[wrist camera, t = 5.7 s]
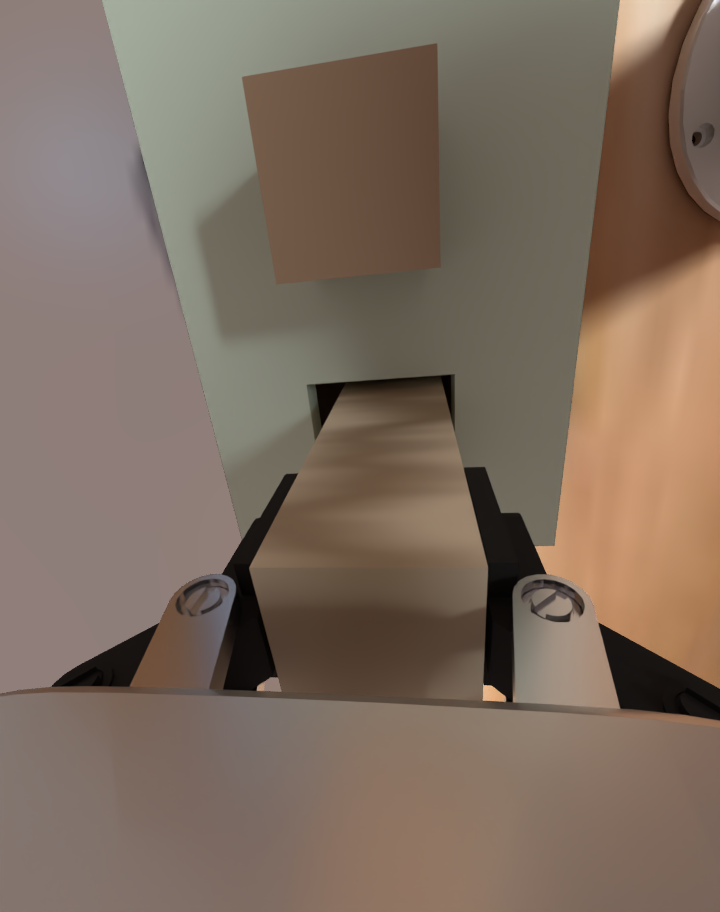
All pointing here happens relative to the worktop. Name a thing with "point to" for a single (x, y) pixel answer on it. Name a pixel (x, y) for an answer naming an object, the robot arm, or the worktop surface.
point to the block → (378, 554)
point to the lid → (376, 213)
